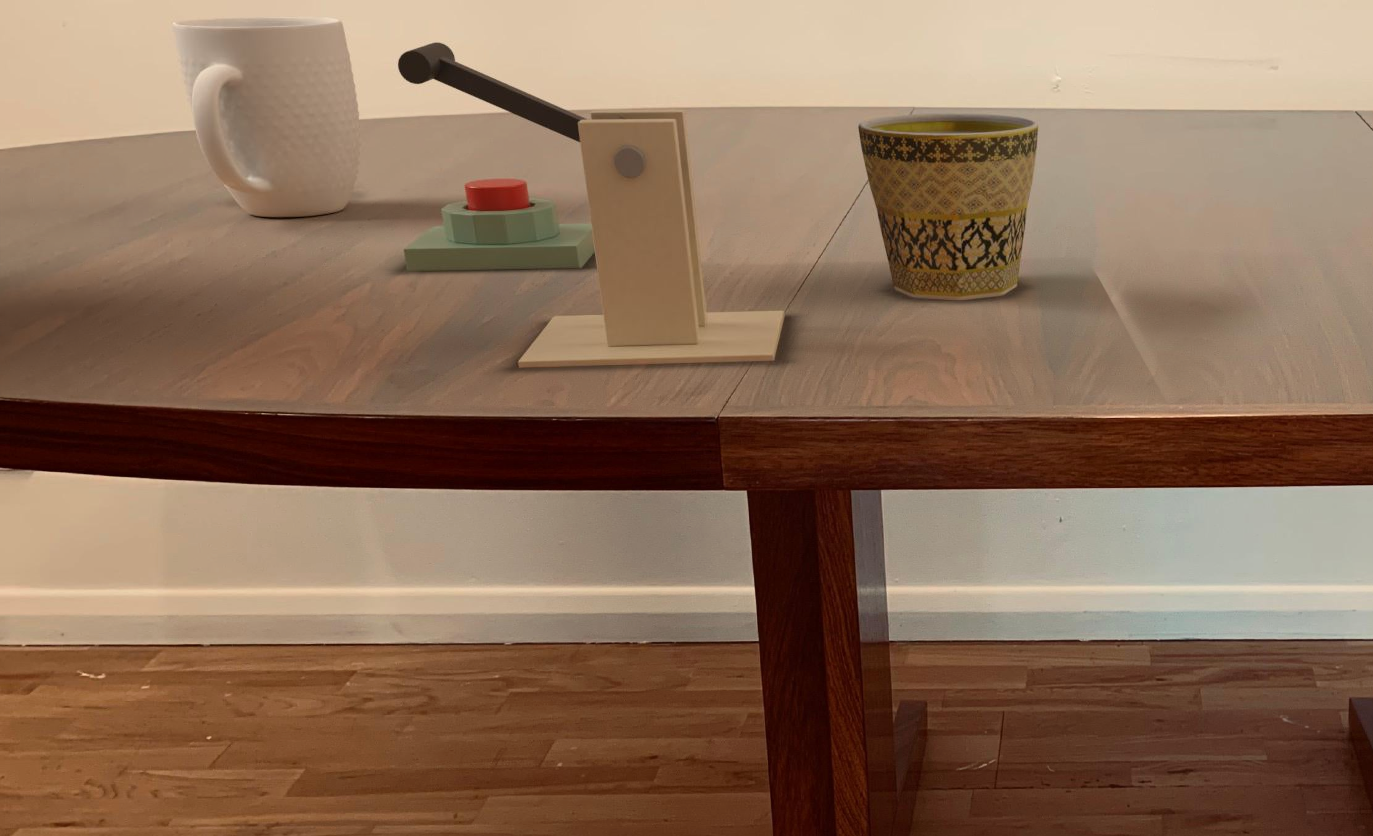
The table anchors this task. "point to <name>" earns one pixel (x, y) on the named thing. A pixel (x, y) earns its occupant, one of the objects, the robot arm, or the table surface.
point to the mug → (274, 110)
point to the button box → (501, 240)
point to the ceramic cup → (951, 199)
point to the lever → (485, 88)
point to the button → (497, 195)
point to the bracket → (647, 258)
